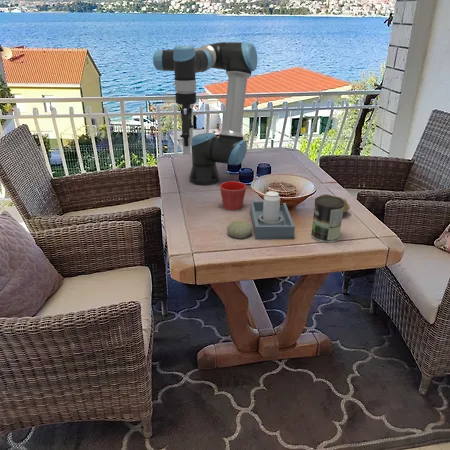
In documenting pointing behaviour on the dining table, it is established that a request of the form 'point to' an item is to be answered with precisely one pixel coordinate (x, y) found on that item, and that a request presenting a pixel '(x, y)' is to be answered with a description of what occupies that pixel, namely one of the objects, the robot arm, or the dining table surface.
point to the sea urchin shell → (239, 229)
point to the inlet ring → (265, 223)
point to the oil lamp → (346, 205)
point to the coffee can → (327, 218)
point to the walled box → (271, 231)
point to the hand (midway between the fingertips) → (187, 149)
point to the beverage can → (271, 206)
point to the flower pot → (232, 194)
